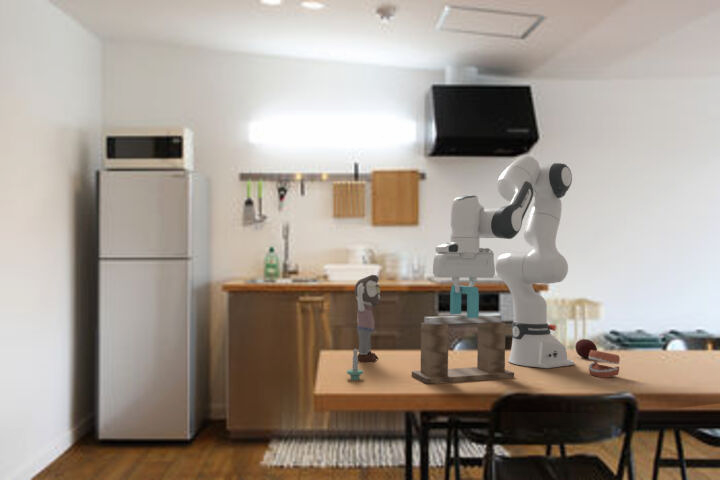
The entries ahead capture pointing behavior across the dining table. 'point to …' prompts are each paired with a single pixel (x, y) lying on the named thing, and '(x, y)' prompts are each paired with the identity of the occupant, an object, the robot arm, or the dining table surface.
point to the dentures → (601, 369)
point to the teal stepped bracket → (471, 301)
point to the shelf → (437, 350)
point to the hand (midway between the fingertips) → (464, 292)
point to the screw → (355, 367)
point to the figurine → (366, 315)
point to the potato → (585, 347)
